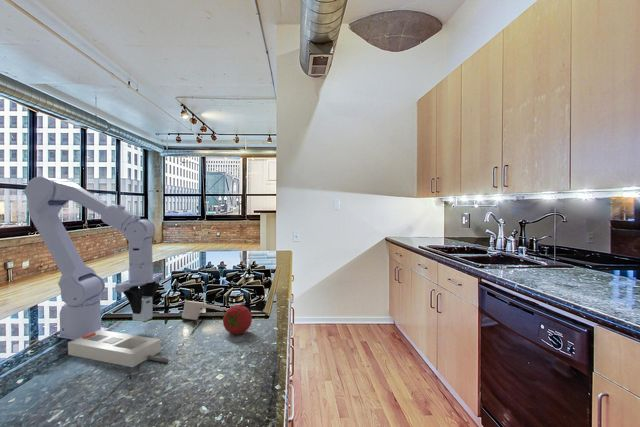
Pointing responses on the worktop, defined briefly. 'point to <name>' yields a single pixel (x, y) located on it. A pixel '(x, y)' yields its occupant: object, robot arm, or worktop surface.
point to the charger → (144, 309)
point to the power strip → (116, 348)
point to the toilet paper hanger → (197, 309)
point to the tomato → (237, 319)
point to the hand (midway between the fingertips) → (142, 311)
